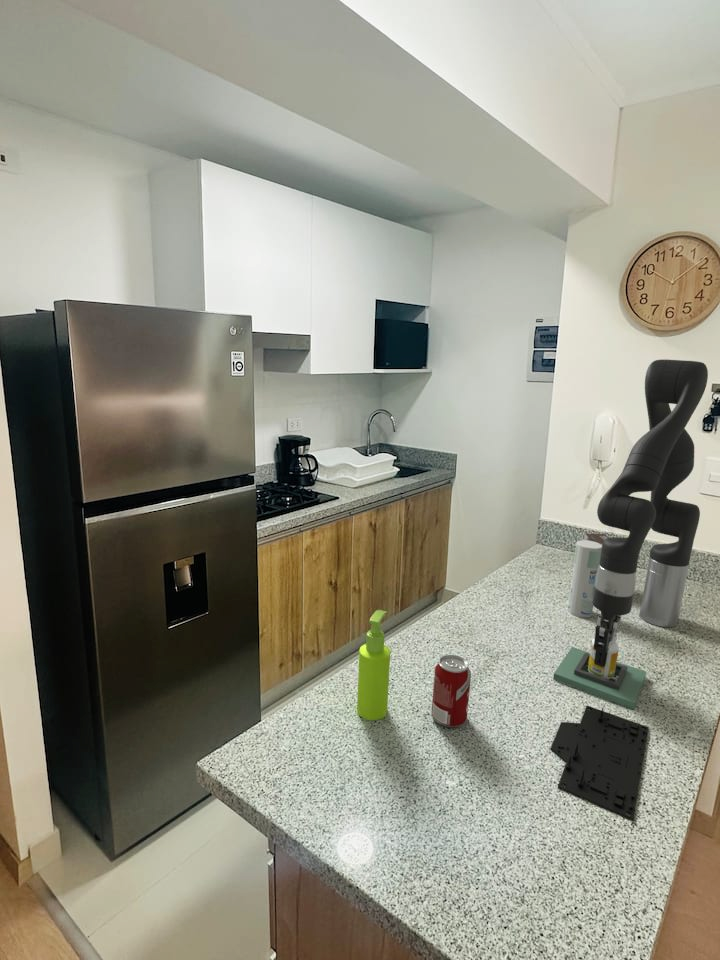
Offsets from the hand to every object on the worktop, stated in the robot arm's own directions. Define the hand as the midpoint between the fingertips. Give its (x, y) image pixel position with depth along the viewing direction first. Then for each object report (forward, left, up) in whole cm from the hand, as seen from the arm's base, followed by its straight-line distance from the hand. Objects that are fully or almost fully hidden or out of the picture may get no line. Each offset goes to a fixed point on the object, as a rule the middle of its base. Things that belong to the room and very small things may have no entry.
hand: (603, 658), depth 117 cm
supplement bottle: (0, 0, -4) cm, 4 cm away
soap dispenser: (+40, -33, -5) cm, 52 cm away
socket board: (0, 0, -5) cm, 5 cm away
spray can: (-30, -12, -5) cm, 33 cm away
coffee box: (-50, -13, -5) cm, 52 cm away
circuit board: (+25, +5, -6) cm, 26 cm away
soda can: (+33, -20, -5) cm, 39 cm away
